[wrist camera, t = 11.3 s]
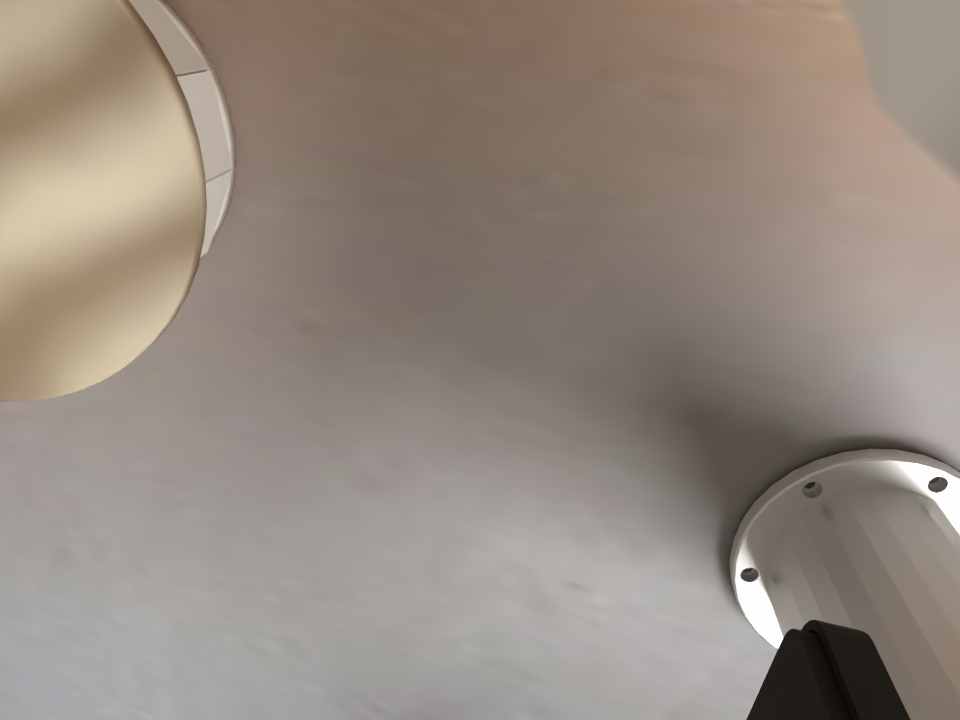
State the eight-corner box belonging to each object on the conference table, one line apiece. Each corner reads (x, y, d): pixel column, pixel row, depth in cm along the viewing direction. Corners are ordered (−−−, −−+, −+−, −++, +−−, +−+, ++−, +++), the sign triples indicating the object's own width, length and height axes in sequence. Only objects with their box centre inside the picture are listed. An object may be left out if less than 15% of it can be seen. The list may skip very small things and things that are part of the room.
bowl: (305, 175, 35) (248, 213, 29) (80, 353, 40) (-12, 420, 33) (51, -146, 31) (-79, -184, 25) (-167, 94, 36) (-325, 113, 29)
